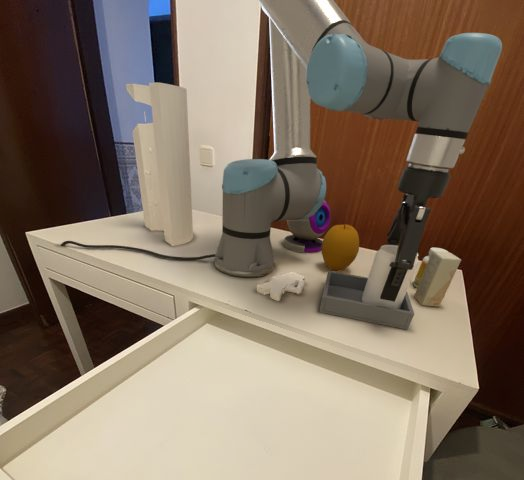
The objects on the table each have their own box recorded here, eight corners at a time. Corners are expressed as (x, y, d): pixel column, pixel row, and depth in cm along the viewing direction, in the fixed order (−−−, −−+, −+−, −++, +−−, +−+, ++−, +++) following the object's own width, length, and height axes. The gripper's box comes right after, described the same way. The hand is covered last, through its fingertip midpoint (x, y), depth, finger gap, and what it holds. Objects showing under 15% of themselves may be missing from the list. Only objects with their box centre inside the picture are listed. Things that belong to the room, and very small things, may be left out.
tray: (319, 312, 62) (322, 296, 60) (324, 284, 74) (328, 270, 71) (407, 329, 60) (414, 313, 57) (399, 298, 71) (404, 284, 69)
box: (439, 307, 69) (462, 260, 62) (420, 305, 69) (442, 258, 62) (430, 297, 73) (451, 251, 67) (412, 295, 73) (432, 249, 67)
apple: (325, 259, 88) (335, 216, 81) (357, 268, 85) (370, 224, 78) (311, 268, 81) (320, 222, 74) (345, 278, 78) (358, 231, 71)
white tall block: (169, 246, 85) (142, 226, 98) (205, 241, 91) (175, 223, 104) (154, 81, 64) (122, 83, 77) (202, 89, 70) (165, 90, 83)
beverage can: (391, 319, 61) (415, 261, 54) (354, 305, 65) (372, 249, 58) (403, 305, 67) (425, 252, 59) (368, 293, 70) (385, 241, 63)
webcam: (303, 255, 89) (312, 200, 80) (274, 242, 97) (280, 190, 88) (331, 249, 96) (343, 197, 87) (303, 237, 104) (311, 189, 95)
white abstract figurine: (313, 285, 71) (314, 277, 70) (282, 306, 64) (283, 297, 63) (283, 273, 75) (284, 265, 74) (251, 291, 68) (251, 283, 67)
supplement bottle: (425, 282, 81) (441, 246, 75) (439, 291, 77) (456, 254, 71) (408, 282, 80) (423, 246, 74) (421, 291, 75) (437, 253, 70)
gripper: (475, 180, 40) (411, 317, 53) (436, 164, 60) (396, 267, 72) (416, 172, 41) (368, 309, 54) (397, 159, 61) (365, 262, 73)
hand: (384, 285), depth 63 cm, fingers open, 13 cm apart
